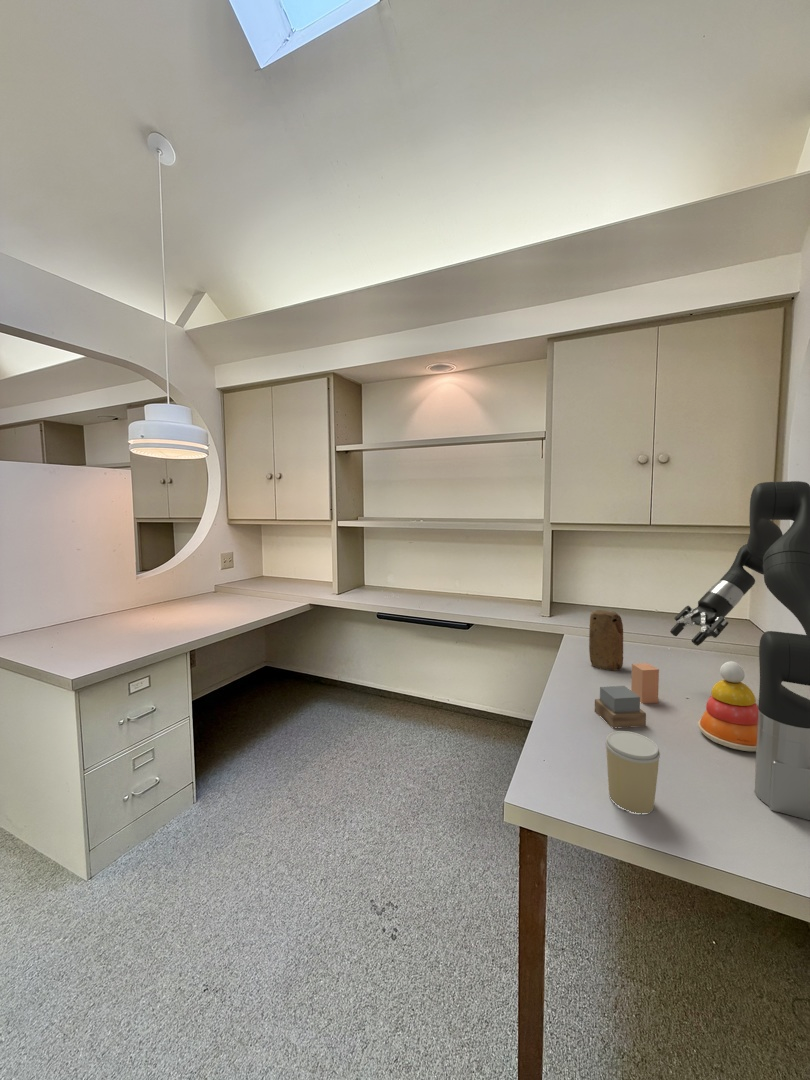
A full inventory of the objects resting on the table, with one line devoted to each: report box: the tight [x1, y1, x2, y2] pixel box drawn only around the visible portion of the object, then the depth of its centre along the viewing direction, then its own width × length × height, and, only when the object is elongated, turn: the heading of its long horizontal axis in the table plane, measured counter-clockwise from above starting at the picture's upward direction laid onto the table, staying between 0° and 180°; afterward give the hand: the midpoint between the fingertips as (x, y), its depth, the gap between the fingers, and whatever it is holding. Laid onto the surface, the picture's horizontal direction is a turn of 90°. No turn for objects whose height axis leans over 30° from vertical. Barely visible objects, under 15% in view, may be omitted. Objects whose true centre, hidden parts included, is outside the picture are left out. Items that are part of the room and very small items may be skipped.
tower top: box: [599, 685, 641, 713], centre depth 112 cm, size 7×7×4 cm
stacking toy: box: [697, 660, 758, 752], centre depth 101 cm, size 14×14×20 cm
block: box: [588, 609, 624, 671], centre depth 148 cm, size 11×8×20 cm
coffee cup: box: [605, 730, 661, 814], centre depth 81 cm, size 9×9×12 cm
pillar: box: [630, 662, 660, 704], centre depth 123 cm, size 5×5×10 cm
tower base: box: [594, 698, 647, 729], centre depth 113 cm, size 9×9×4 cm
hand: (683, 638), depth 123 cm, fingers open, 8 cm apart
